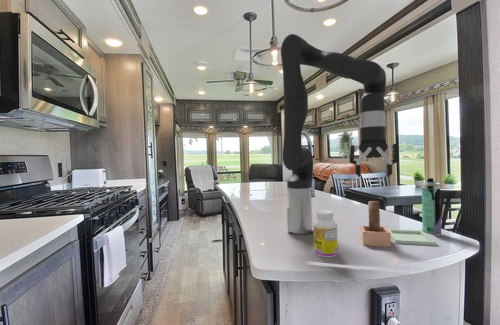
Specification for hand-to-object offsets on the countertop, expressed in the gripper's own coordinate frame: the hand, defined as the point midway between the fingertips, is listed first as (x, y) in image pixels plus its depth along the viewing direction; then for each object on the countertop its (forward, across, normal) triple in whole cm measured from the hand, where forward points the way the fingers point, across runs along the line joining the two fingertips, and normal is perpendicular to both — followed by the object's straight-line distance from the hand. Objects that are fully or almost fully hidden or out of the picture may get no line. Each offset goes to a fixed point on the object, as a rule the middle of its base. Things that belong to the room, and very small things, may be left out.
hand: (373, 176), depth 83 cm
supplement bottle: (+22, -15, -13) cm, 30 cm away
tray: (+22, +12, +6) cm, 25 cm away
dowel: (+21, 0, 0) cm, 21 cm away
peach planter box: (+22, 0, 0) cm, 22 cm away
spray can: (+22, +21, +15) cm, 34 cm away
